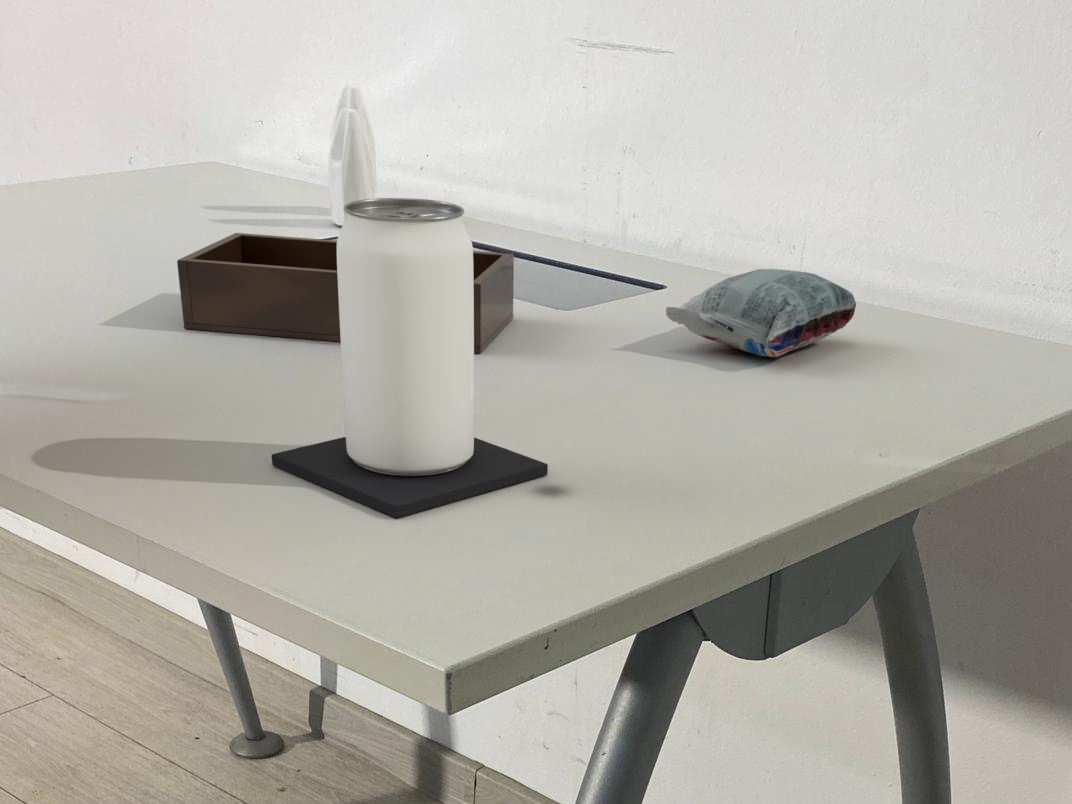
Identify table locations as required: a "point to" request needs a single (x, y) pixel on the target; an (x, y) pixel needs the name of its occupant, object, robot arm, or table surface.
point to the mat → (408, 493)
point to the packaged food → (767, 311)
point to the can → (407, 335)
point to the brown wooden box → (305, 288)
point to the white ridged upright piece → (351, 154)
